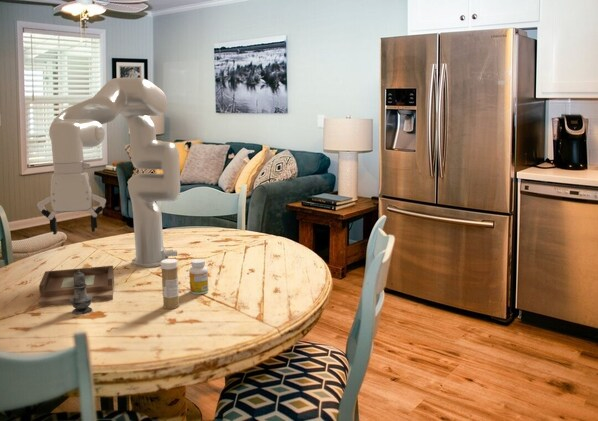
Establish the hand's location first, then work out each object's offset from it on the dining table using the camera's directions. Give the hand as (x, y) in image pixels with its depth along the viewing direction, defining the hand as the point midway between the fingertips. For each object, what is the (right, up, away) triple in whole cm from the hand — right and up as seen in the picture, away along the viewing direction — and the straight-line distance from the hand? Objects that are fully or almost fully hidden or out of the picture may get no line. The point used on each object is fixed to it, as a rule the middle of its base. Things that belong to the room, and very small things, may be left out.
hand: (74, 232), depth 159 cm
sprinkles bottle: (+24, -21, +7) cm, 33 cm away
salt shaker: (0, -22, +5) cm, 23 cm away
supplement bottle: (+30, -19, +19) cm, 41 cm away
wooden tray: (-6, -19, +19) cm, 28 cm away
